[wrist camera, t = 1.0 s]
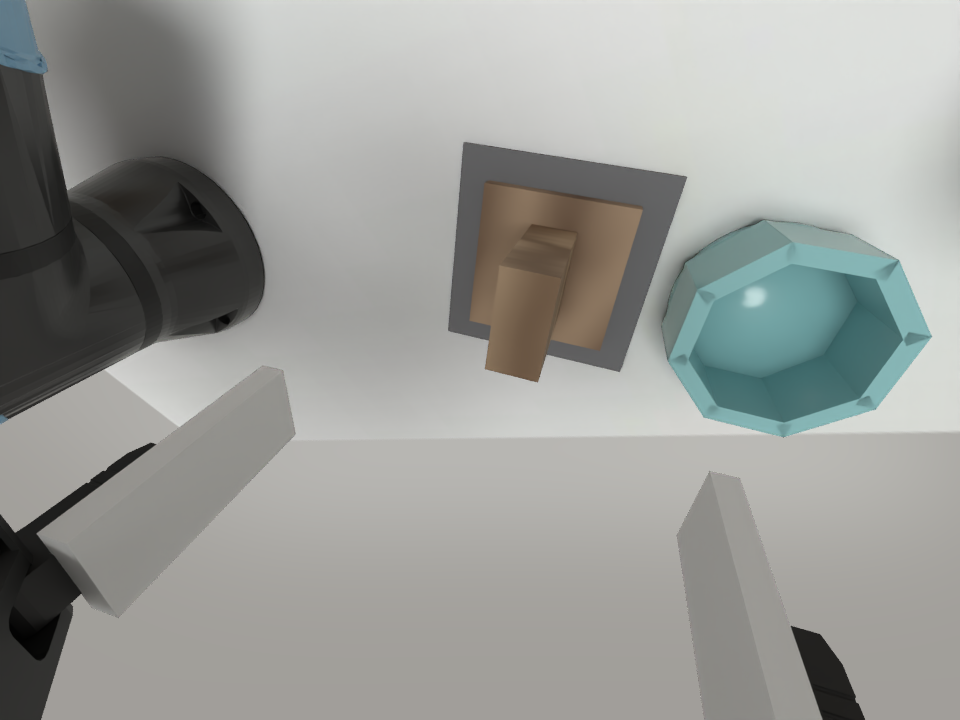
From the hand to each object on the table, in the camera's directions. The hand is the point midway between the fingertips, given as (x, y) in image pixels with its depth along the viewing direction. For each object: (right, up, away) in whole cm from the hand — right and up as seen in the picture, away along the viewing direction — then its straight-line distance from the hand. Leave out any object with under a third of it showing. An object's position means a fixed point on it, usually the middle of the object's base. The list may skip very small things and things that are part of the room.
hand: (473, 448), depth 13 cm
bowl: (+18, +6, +15) cm, 25 cm away
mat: (+5, +10, +17) cm, 20 cm away
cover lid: (+5, +9, +17) cm, 20 cm away
